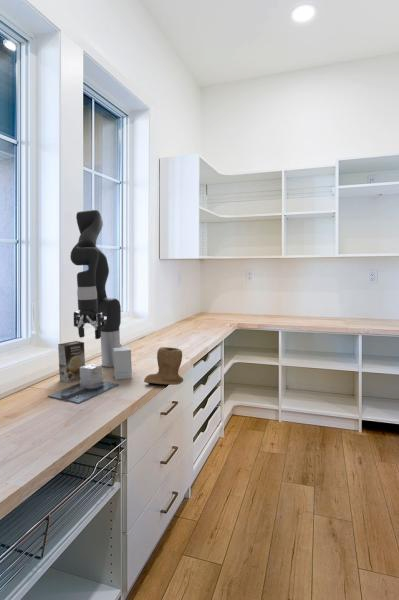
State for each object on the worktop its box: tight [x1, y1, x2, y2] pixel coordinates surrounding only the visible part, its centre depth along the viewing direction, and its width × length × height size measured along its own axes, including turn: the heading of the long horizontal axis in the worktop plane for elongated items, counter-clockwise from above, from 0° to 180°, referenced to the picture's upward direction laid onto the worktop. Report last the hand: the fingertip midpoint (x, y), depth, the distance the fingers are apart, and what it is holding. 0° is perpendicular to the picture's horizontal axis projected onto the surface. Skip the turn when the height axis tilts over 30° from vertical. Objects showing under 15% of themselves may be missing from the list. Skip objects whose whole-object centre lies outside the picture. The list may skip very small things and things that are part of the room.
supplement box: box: [113, 346, 133, 381], centre depth 164 cm, size 7×7×13 cm
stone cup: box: [143, 346, 184, 386], centre depth 154 cm, size 15×12×15 cm
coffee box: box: [57, 340, 86, 384], centre depth 162 cm, size 9×6×16 cm
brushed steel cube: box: [79, 362, 104, 386], centre depth 150 cm, size 6×6×7 cm
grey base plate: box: [47, 380, 120, 405], centre depth 147 cm, size 22×16×6 cm
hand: (89, 337), depth 149 cm, fingers open, 8 cm apart
